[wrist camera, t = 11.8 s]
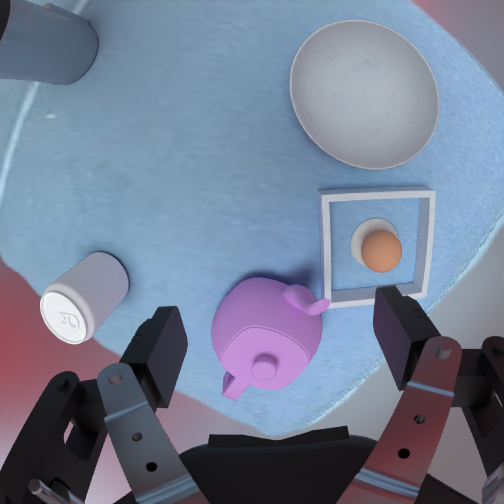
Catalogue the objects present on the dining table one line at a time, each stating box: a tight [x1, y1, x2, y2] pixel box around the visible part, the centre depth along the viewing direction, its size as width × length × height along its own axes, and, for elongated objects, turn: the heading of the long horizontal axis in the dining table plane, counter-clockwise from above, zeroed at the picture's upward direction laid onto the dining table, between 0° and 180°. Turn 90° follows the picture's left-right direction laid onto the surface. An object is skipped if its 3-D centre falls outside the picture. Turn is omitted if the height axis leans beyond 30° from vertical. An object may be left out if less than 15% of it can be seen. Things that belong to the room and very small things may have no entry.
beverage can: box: [40, 252, 129, 344], centre depth 35 cm, size 8×8×12 cm
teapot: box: [211, 277, 331, 401], centre depth 36 cm, size 13×20×11 cm
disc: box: [350, 218, 398, 267], centre depth 36 cm, size 6×6×1 cm
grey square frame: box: [318, 186, 436, 309], centre depth 35 cm, size 14×14×3 cm
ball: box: [361, 230, 402, 273], centre depth 34 cm, size 5×5×5 cm
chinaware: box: [289, 20, 440, 170], centre depth 27 cm, size 15×15×8 cm
